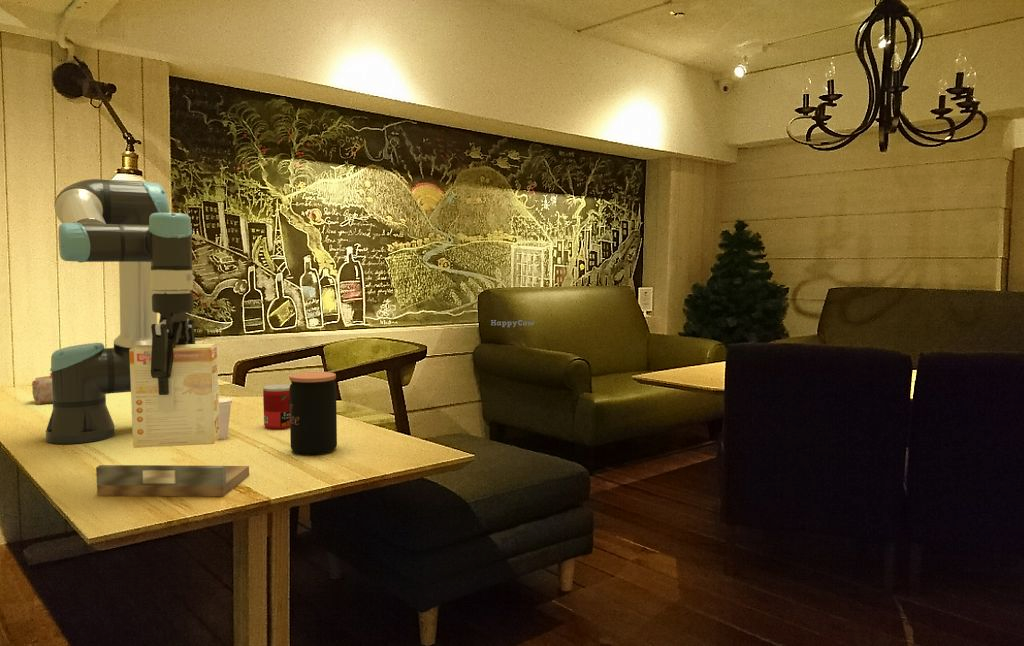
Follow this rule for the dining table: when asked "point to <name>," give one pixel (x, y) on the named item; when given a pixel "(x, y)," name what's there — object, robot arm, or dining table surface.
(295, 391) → the coffee jar
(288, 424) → the canned food
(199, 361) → the coffeecake box
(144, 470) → the shelf board
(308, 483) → the dining table surface
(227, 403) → the smoothie
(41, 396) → the food item
